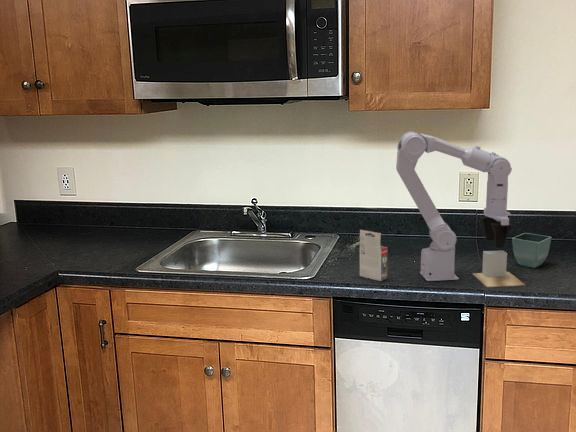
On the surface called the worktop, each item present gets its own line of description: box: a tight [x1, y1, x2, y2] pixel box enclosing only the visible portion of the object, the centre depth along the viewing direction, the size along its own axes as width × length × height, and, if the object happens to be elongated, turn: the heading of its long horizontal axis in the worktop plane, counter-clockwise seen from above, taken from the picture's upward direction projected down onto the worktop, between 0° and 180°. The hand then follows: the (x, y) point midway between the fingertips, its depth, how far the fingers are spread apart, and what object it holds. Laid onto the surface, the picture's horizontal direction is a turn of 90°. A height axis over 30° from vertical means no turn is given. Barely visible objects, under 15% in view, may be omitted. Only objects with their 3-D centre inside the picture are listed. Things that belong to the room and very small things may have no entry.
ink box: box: [359, 229, 388, 282], centre depth 194 cm, size 4×8×15 cm, turn 47°
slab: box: [481, 250, 508, 277], centre depth 193 cm, size 6×3×7 cm, turn 94°
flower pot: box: [511, 232, 552, 269], centre depth 202 cm, size 9×9×9 cm
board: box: [472, 271, 526, 288], centre depth 190 cm, size 11×12×1 cm
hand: (494, 243), depth 192 cm, fingers open, 7 cm apart
